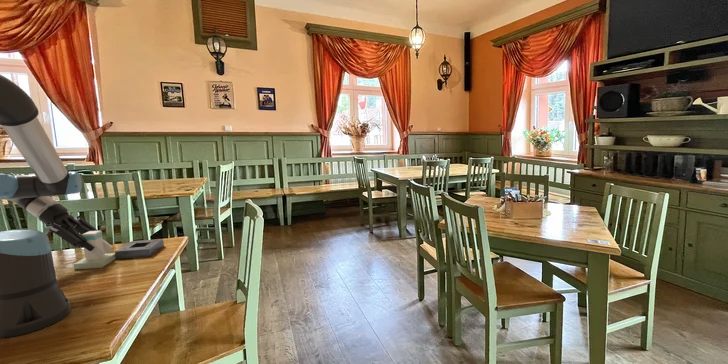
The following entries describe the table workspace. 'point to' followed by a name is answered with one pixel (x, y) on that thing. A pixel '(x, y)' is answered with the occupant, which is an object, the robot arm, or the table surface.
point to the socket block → (139, 249)
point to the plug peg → (96, 239)
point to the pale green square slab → (95, 262)
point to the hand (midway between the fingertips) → (106, 252)
